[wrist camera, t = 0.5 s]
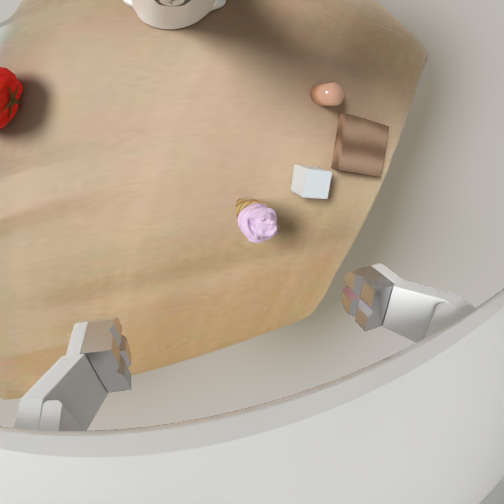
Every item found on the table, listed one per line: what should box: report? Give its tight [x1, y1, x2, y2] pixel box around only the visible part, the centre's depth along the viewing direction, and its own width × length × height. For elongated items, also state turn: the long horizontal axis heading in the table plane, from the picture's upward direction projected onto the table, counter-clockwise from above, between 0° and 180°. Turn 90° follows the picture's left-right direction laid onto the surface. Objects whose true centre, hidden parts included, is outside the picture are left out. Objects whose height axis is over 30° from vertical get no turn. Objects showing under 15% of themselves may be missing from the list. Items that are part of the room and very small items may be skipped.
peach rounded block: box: [311, 83, 344, 106], centre depth 48 cm, size 5×5×5 cm
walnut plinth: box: [331, 114, 389, 177], centre depth 56 cm, size 12×12×3 cm
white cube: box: [291, 164, 332, 199], centre depth 55 cm, size 6×6×6 cm
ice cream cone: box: [236, 199, 279, 243], centre depth 49 cm, size 7×6×15 cm
